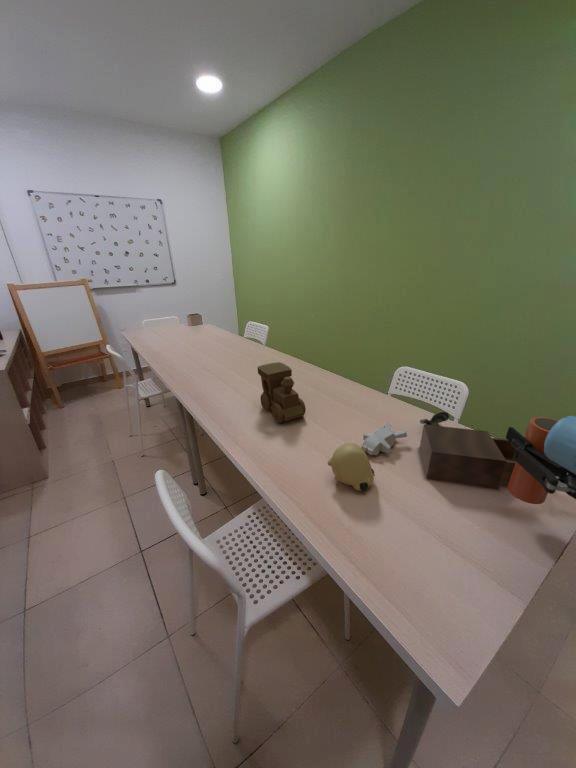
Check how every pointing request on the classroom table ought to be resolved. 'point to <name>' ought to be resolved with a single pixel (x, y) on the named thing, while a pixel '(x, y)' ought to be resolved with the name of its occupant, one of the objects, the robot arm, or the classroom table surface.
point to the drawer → (506, 457)
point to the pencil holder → (520, 479)
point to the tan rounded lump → (352, 466)
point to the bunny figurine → (381, 440)
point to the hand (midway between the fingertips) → (526, 433)
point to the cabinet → (461, 456)
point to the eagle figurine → (436, 419)
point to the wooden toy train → (280, 392)
